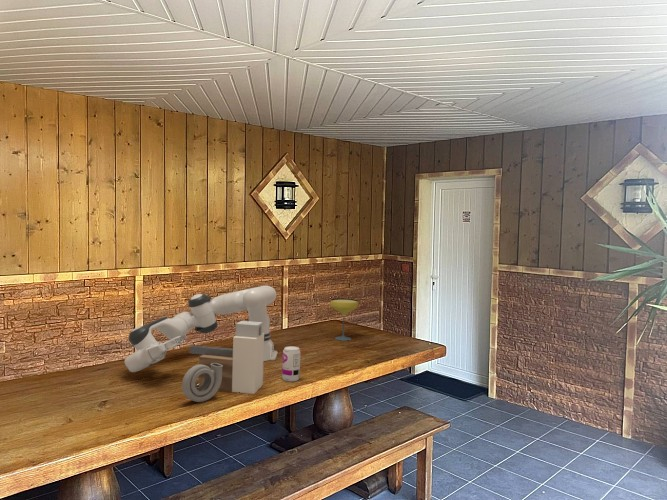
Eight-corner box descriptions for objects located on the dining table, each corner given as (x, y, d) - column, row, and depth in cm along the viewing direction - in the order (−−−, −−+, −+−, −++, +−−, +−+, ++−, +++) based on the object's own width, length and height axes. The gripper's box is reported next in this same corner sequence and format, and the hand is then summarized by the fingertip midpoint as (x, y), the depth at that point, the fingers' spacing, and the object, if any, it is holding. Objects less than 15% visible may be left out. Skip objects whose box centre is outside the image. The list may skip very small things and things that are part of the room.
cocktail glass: (325, 336, 332) (327, 298, 331) (351, 335, 338) (353, 298, 336) (334, 342, 315) (335, 302, 314) (361, 341, 321) (362, 302, 319)
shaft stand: (241, 383, 232) (243, 319, 230) (262, 385, 230) (264, 321, 228) (231, 391, 220) (233, 324, 218) (254, 394, 218) (255, 326, 216)
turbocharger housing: (187, 407, 200) (188, 370, 199) (179, 403, 204) (179, 366, 203) (223, 397, 212) (224, 362, 211) (214, 393, 217) (215, 359, 216)
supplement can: (283, 382, 235) (284, 350, 234) (280, 377, 243) (281, 346, 242) (300, 381, 237) (302, 350, 236) (297, 376, 245) (298, 345, 244)
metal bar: (192, 351, 230) (192, 345, 230) (234, 355, 227) (234, 348, 226) (189, 353, 227) (189, 346, 227) (231, 357, 224) (232, 350, 223)
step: (209, 380, 234) (210, 350, 233) (241, 383, 232) (242, 353, 231) (198, 388, 222) (199, 357, 222) (231, 391, 220) (232, 360, 219)
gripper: (170, 352, 242) (194, 339, 239) (147, 363, 222) (173, 350, 219) (164, 340, 242) (188, 327, 240) (141, 350, 222) (166, 337, 219)
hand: (180, 338), depth 229 cm, fingers open, 8 cm apart
